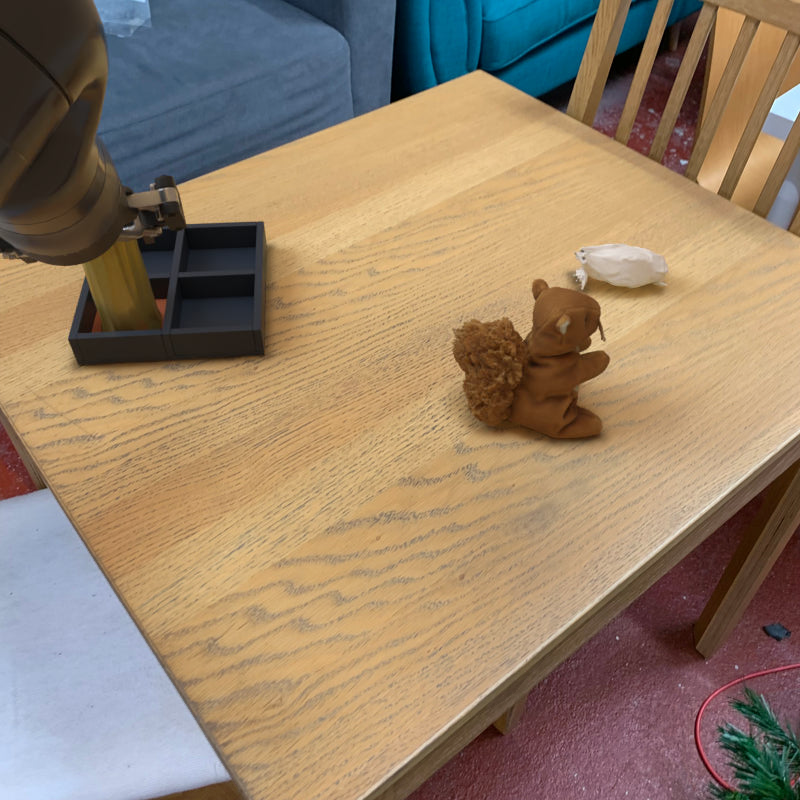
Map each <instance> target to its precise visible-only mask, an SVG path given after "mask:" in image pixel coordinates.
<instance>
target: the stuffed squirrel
mask: <svg viewBox="0 0 800 800" xmlns="http://www.w3.org/2000/svg"><path fill="white" fill-rule="evenodd" d="M531 284H532V287H531V292H532V293H531V294H532V296H533V299H534V305H533V309H532V326H531V330H530V331H529V332H528V333H527V335H526V336H525V338H524V339H523V337H522V336H521V334H520V333H519V331H517V330H515V325H514V323H513V321H512V320H510V319H509V317H508V316H507V317H505V316H503V317H501V320H500V319H499V318H497V320H493V321H485V322H481V321H480V320H478V319H477V318H471V319H470V320H469V321H467V322H466V321H464V322H462V324H463V325H461V327H457V328H455V327H453V328H451V331H452V333H453V335H454V338H455V339H453V341H454V342H451V344H452V345H453V347H452V349H451V351H452V355H453V358H454V361H455V362H456V363H457V365H458V367H459V368H460V369H461V371H462V372H464V379H463V380H462V382H463V385H461V387H462V392H464V394H465V397H466V399H467V404H466V407H467V409H468V410H469V412H470V414H471V416H472V417H474V418H475V419H476V420H478V422H480V423H484V424H486V426H489V427H494V426H497V425H499V424H501V423H503V422H504V420H509V421H510V422H513V423H515V424H516V423H517V424H519V425H521V426H524V427H527V428H528V429H531V430H534V431H536V432H538V433H541V434H544V435H546V436H549V437H551V438H553V439H554V438H555V439H572V438H573V439H576V438H586V437H590V436H596V435H599V434H600V433H601V432H602V430H603V427H604V425H603V421H602V419H601V418H600V416H598V415H597V414H595V413H594V412H593V411H591V410H588V409H586V408H585V407H582V406H579V405H578V400H579V399H578V398H579V388H580V387H579V386H580V385H582V384H584V383H586V382H588V381H591V380H593V379H595V378H597V377H598V376H600V375H602V374H603V373H604V372H605V371H606V370H607V368H608V367H609V366H610V365H609V364H610V363H611V357H610V355H609V354H607V352H606V351H605V350H602V349H601V350H598V349H597V350H594V351H589V352H585V353H583V352H584V351H586V350H588V349H589V348H590V347H591V345H592V342H593V340H592V338H591V336H593V335H594V334H595V333H596V332H597V330H598V332H599V335H600V340H601V341H602V342H603V343H605V342H606V341H607V338H606V337H605V332H604V327H603V324H602V322H601V315H602V310H601V308H602V307H601V305H600V304H599V301H598V300H596V299H595V298H594V297H592V296H590V295H588V294H586V293H583V292H581V291H578V290H575V289H571V288H566V287H562V286H552V287H549V284H548V283H547V281H546V280H544V279H543V278H536V279H534V280H533V281H532V282H531Z"/></svg>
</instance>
